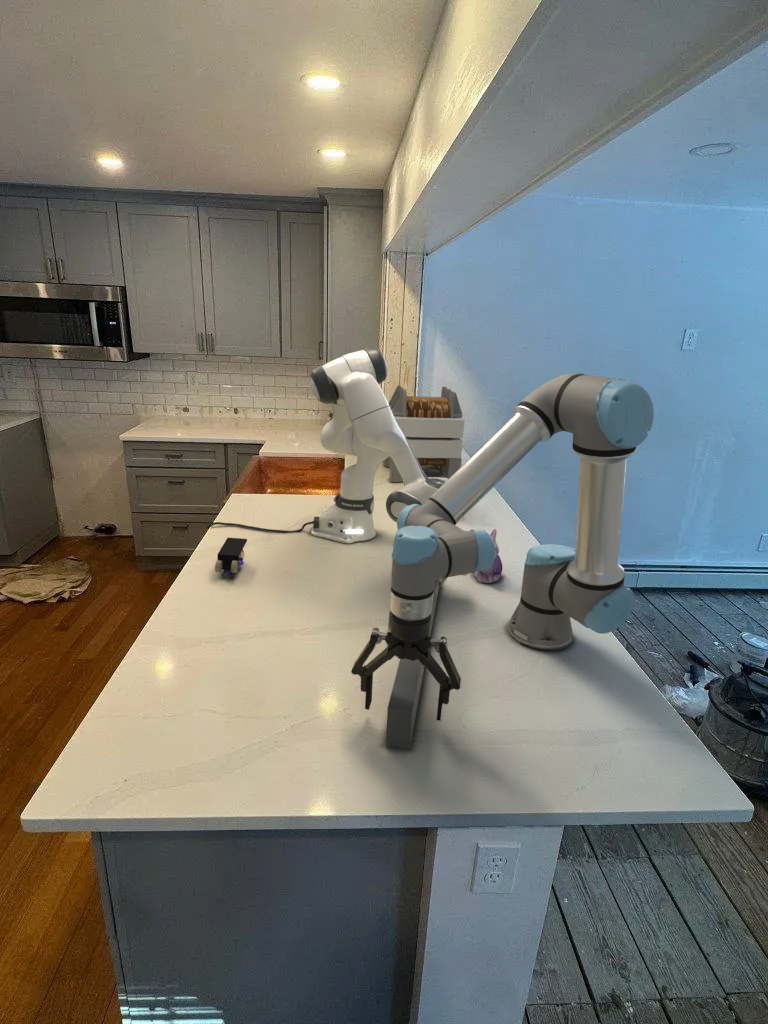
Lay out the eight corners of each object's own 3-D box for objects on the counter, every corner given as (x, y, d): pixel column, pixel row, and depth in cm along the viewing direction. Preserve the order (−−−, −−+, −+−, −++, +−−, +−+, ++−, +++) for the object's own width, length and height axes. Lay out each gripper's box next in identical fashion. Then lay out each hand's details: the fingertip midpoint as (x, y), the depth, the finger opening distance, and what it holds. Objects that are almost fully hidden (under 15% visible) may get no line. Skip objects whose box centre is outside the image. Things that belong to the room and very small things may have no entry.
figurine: (485, 587, 164) (491, 539, 159) (465, 572, 172) (469, 526, 167) (511, 581, 168) (517, 534, 163) (490, 567, 176) (495, 522, 171)
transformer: (382, 463, 289) (386, 382, 275) (445, 464, 293) (451, 384, 279) (390, 482, 257) (394, 392, 243) (460, 483, 261) (468, 394, 247)
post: (424, 583, 165) (426, 556, 162) (439, 584, 164) (441, 558, 161) (385, 745, 103) (387, 707, 100) (409, 749, 102) (412, 711, 99)
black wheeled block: (238, 584, 162) (249, 557, 175) (236, 562, 158) (247, 536, 172) (215, 584, 161) (227, 556, 175) (212, 561, 158) (225, 535, 171)
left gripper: (394, 539, 151) (392, 585, 156) (471, 547, 148) (466, 594, 153) (397, 530, 157) (395, 575, 162) (472, 538, 154) (467, 583, 159)
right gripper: (336, 613, 99) (334, 713, 106) (480, 632, 95) (468, 734, 102) (347, 593, 106) (344, 688, 113) (481, 610, 102) (469, 707, 109)
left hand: (430, 584), depth 157 cm, fingers closed on post, 4 cm apart
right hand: (403, 710), depth 108 cm, fingers open, 13 cm apart
